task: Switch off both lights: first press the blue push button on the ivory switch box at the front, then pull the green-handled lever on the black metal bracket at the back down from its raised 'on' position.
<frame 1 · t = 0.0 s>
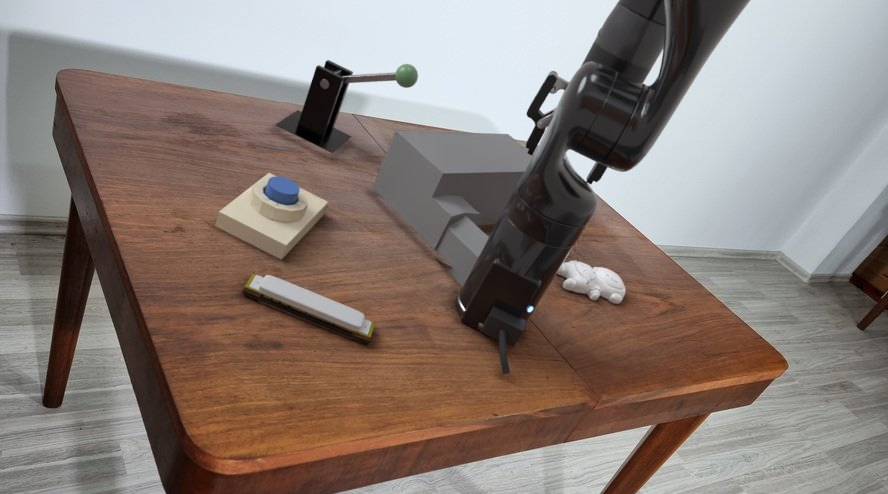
hand: (559, 167, 93), 17 cm above the table, tool pointing down, fingers open, 8 cm apart
gray stepped block: (473, 236, 108), on the table, touching arm
blue button: (282, 191, 88), point 4 cm above the table, slide at 0.1 cm
lever bracket: (312, 137, 114), on the table
harmonica: (307, 315, 78), on the table
green lever: (369, 77, 107), point 13 cm above the table, hinge at 28.0°
switch box: (272, 220, 90), on the table
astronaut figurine: (586, 285, 108), on the table
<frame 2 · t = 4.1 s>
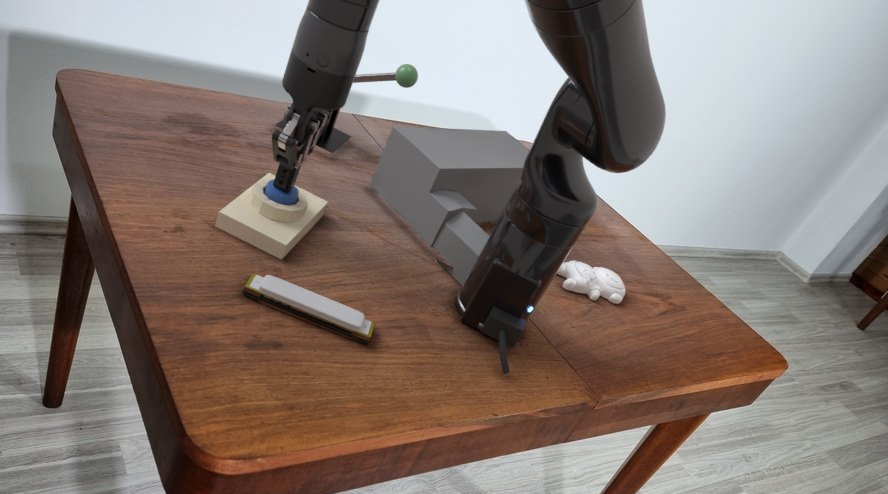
hand: (282, 188, 87), 5 cm above the table, tool pointing down, fingers closed
gray stepped block: (471, 232, 108), on the table
blue button: (281, 193, 88), point 4 cm above the table, slide at -0.3 cm, touching gripper
everything else where it was.
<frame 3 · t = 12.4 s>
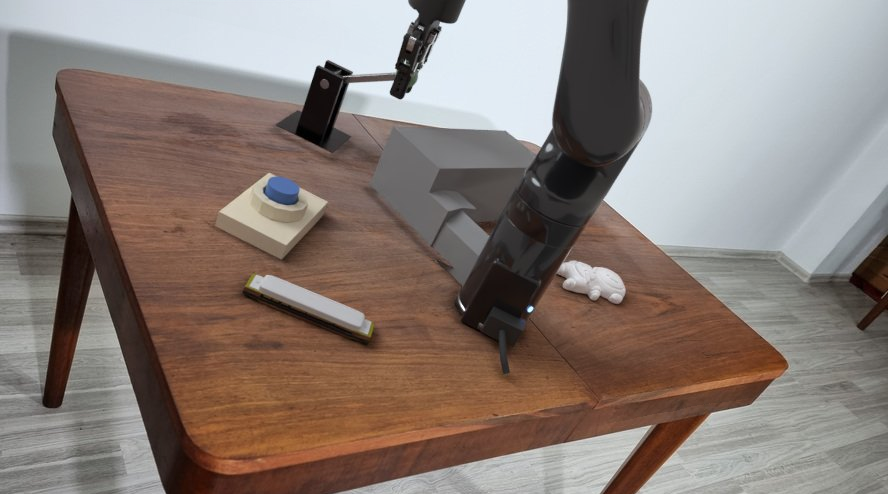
hand: (399, 93, 107), 13 cm above the table, tool pointing down, fingers closed on green lever, 3 cm apart
blue button: (282, 191, 88), point 4 cm above the table, slide at 0.1 cm
green lever: (369, 77, 107), point 13 cm above the table, hinge at 28.0°, touching gripper
everything else where it was.
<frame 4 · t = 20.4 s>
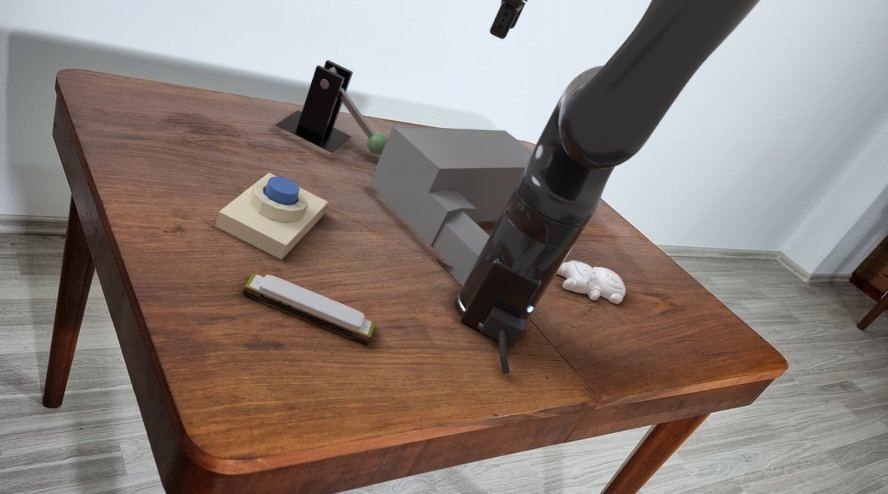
hand: (501, 30, 94), 28 cm above the table, tool pointing down, fingers open, 8 cm apart
green lever: (355, 113, 110), point 7 cm above the table, hinge at -30.4°
everything else where it was.
at the end: blue button pushed in 1.2 cm at the most during the clip, back to where it started at the end; blue button slide at 0.1 cm; green lever at -30° (first picture: +28°) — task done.
